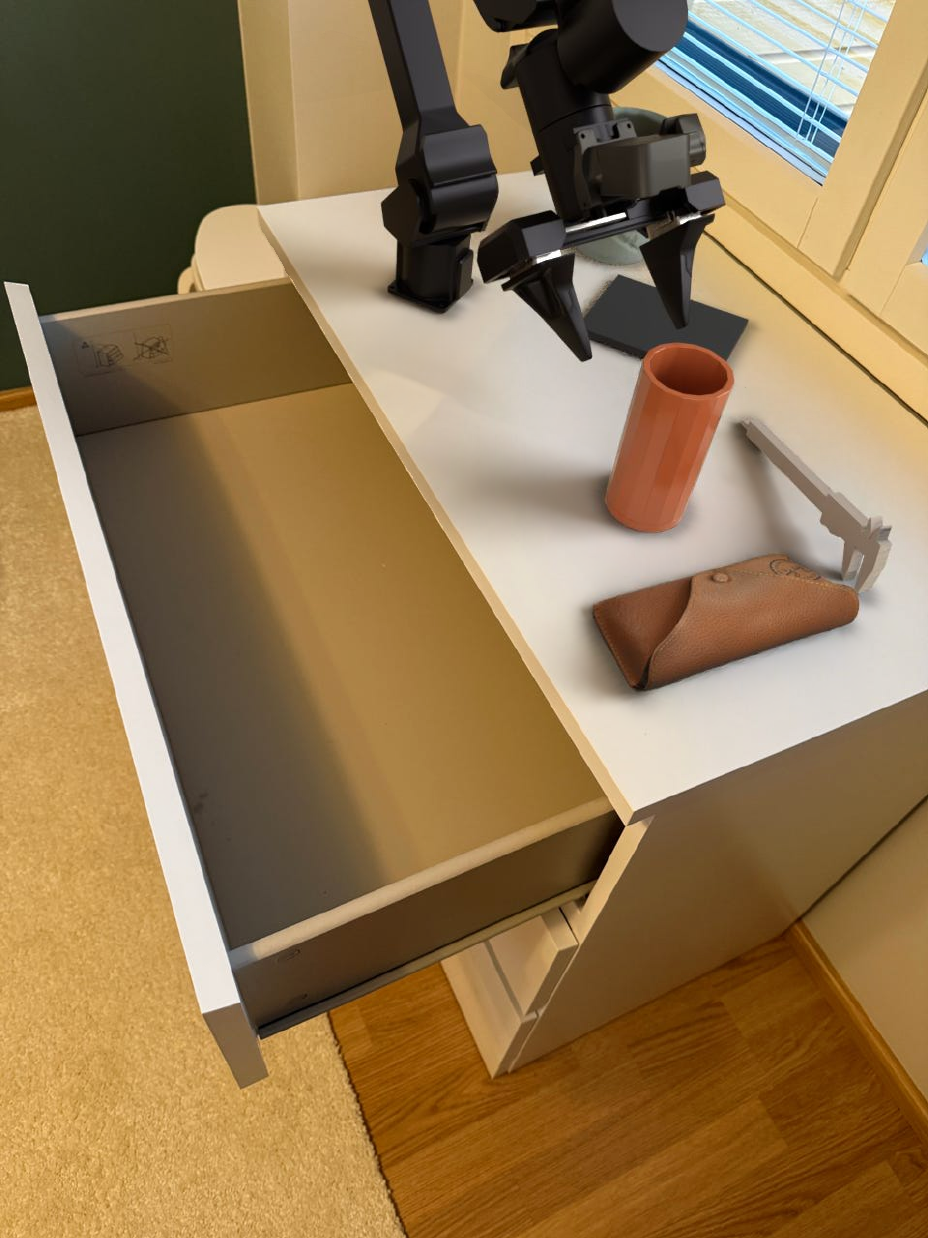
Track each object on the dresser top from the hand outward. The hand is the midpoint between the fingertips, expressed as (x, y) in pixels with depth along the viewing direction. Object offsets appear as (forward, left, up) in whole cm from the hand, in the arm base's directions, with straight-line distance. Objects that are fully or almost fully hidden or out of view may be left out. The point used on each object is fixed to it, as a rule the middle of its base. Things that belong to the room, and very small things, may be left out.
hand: (636, 343), depth 68 cm
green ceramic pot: (-12, +33, -12) cm, 37 cm away
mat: (-2, +21, -12) cm, 24 cm away
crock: (+5, -3, -12) cm, 13 cm away
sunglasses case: (+14, -11, -12) cm, 21 cm away
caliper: (+16, +4, -12) cm, 20 cm away
